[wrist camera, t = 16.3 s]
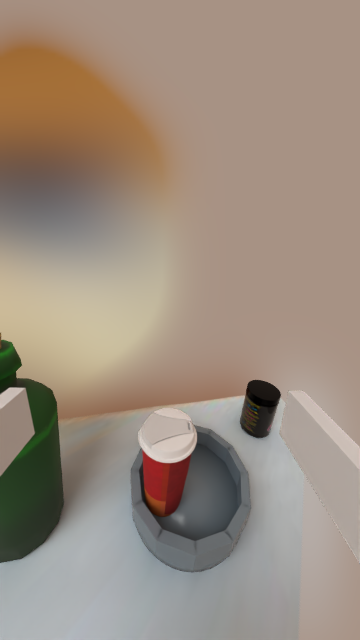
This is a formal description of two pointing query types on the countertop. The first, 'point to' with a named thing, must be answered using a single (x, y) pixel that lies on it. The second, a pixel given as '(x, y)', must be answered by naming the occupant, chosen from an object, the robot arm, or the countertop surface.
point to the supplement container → (259, 408)
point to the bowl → (197, 508)
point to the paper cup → (166, 458)
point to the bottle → (30, 469)
